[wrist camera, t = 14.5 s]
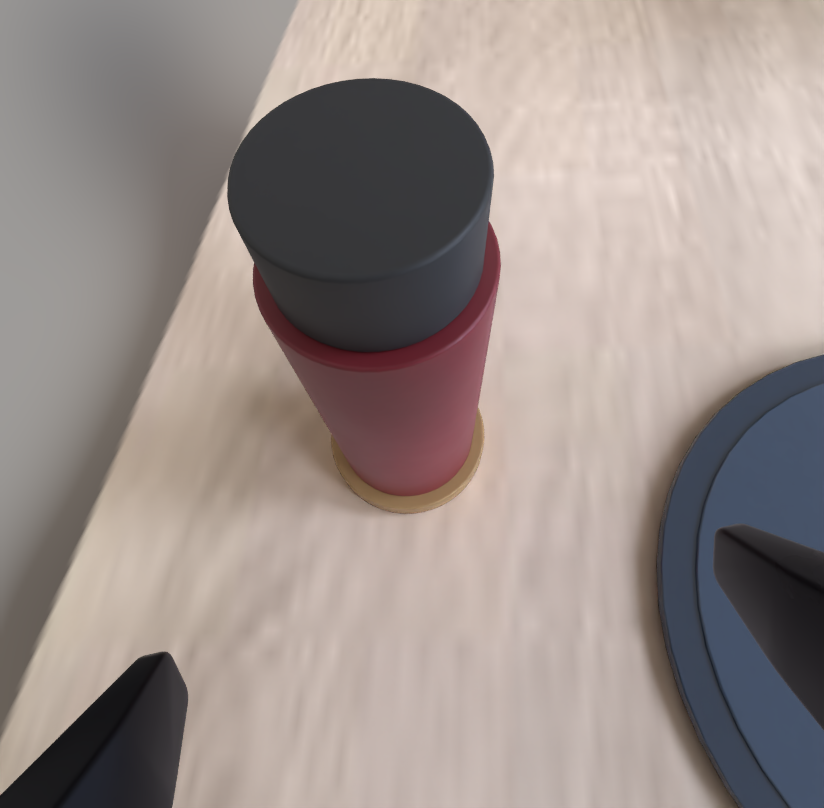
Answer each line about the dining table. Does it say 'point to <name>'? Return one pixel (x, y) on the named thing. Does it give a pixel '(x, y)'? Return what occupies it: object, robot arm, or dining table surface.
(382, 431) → the capped red bottle
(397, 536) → the dining table surface
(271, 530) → the dining table surface
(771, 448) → the plate
